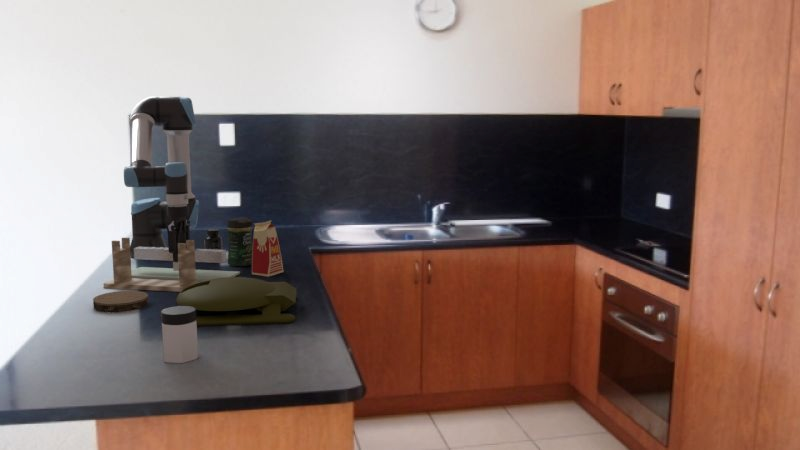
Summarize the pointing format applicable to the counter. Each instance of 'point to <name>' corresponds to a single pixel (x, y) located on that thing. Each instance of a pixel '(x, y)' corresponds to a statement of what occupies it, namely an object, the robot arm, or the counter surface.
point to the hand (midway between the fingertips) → (180, 269)
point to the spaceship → (240, 300)
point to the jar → (179, 334)
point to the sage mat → (174, 275)
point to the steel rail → (164, 254)
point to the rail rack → (127, 282)
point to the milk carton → (266, 250)
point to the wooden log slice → (120, 301)
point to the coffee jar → (240, 241)
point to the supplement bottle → (213, 240)
